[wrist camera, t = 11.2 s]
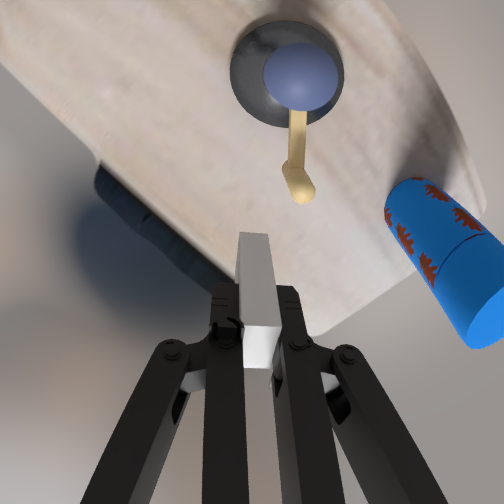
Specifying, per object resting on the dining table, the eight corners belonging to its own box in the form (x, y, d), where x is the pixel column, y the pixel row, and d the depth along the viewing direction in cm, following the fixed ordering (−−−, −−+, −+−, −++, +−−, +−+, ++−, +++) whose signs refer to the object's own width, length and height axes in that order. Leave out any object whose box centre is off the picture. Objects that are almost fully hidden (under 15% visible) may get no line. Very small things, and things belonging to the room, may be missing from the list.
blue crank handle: (261, 43, 28) (267, 38, 22) (327, 47, 28) (348, 44, 22) (261, 178, 36) (266, 203, 30) (320, 178, 36) (336, 203, 31)
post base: (223, 28, 31) (220, 21, 26) (335, 22, 30) (351, 16, 25) (237, 131, 39) (237, 142, 34) (343, 122, 38) (358, 132, 33)
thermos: (443, 176, 43) (548, 269, 22) (433, 233, 49) (512, 337, 28) (386, 177, 43) (486, 285, 22) (379, 238, 49) (450, 359, 28)
